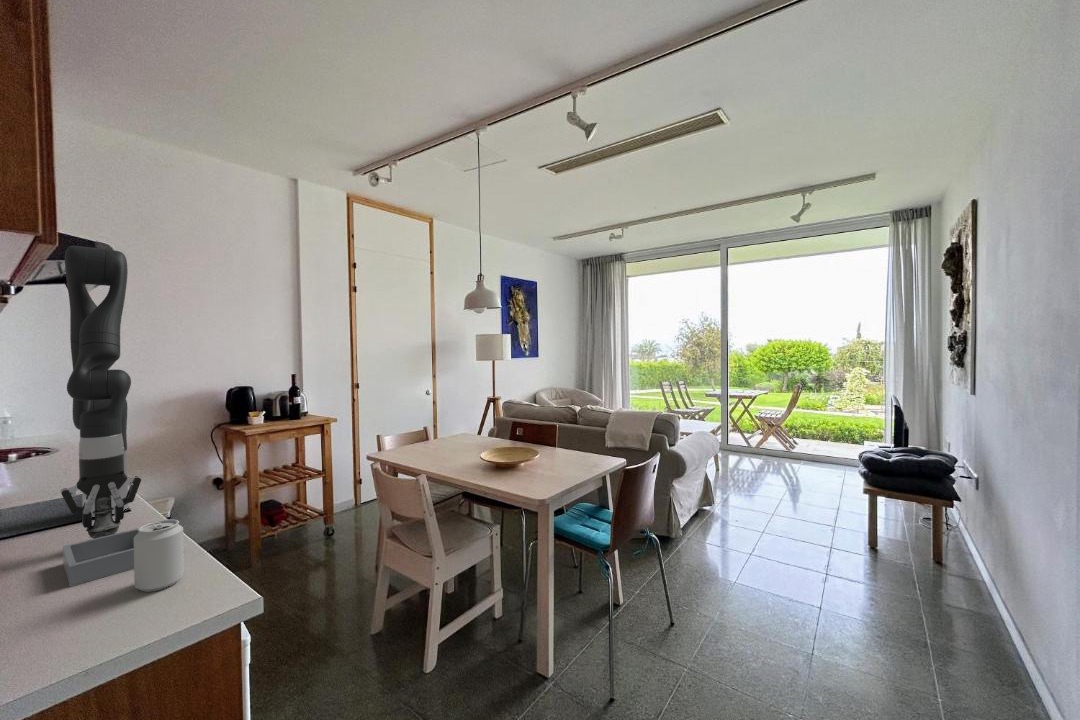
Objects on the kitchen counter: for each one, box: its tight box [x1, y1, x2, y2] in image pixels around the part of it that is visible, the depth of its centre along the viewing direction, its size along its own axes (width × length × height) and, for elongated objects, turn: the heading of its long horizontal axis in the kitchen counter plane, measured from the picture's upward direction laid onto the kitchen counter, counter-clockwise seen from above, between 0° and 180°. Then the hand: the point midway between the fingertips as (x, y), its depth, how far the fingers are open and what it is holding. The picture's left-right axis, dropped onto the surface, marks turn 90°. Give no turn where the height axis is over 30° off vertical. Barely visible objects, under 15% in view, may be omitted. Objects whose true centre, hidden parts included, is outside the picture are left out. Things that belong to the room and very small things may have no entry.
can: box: [133, 519, 185, 593], centre depth 88 cm, size 8×8×12 cm
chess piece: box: [85, 496, 122, 539], centre depth 104 cm, size 6×6×12 cm
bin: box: [62, 527, 140, 587], centre depth 96 cm, size 14×14×4 cm
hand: (103, 524), depth 105 cm, fingers closed on chess piece, 4 cm apart
